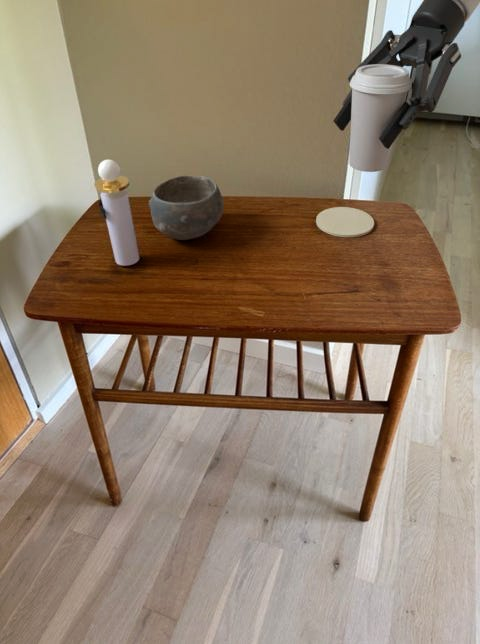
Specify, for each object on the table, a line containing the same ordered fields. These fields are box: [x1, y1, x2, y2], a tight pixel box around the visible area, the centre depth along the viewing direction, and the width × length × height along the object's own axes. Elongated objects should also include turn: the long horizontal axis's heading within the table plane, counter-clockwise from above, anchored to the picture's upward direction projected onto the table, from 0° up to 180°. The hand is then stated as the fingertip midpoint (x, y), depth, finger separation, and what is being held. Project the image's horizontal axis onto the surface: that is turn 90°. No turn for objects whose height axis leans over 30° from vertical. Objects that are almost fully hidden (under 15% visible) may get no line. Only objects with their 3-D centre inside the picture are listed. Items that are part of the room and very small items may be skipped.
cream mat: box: [315, 206, 375, 239], centre depth 102 cm, size 12×12×1 cm
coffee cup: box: [348, 64, 413, 173], centre depth 80 cm, size 10×10×15 cm
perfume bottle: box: [93, 158, 140, 267], centre depth 86 cm, size 6×6×20 cm
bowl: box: [148, 174, 225, 241], centre depth 97 cm, size 14×15×10 cm
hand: (360, 134), depth 80 cm, fingers closed on coffee cup, 9 cm apart
